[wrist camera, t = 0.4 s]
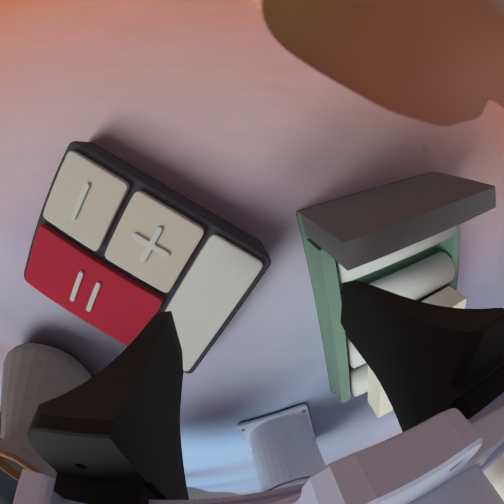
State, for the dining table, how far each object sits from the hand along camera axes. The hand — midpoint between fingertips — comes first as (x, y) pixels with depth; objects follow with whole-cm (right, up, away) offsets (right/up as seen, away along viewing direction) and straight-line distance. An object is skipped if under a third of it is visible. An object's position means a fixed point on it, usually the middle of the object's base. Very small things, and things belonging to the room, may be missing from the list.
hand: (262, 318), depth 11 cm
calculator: (-9, +3, +9) cm, 13 cm away
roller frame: (+12, -2, +13) cm, 18 cm away
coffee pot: (-24, -8, +9) cm, 27 cm away
